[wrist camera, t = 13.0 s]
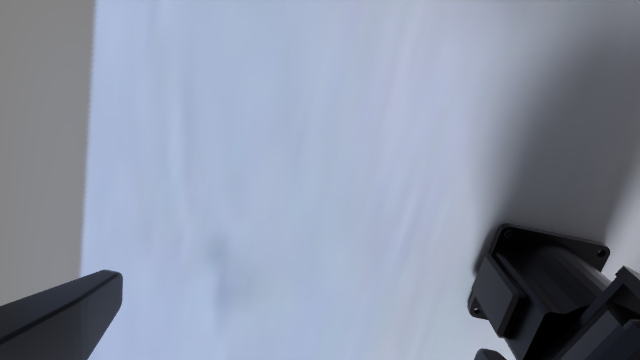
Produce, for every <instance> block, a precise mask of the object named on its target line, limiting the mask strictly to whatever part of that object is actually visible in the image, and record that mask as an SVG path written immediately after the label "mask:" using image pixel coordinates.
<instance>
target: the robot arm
mask: <svg viewBox="0 0 640 360" xmlns="http://www.w3.org/2000/svg"><path fill="white" fill-rule="evenodd" d="M508 230H510V233H509V234H508V235H504V233H505V232H506V231H508ZM599 250H601V252H600V253H598V254H597V252H598V251H599ZM609 255H610V249H609V248H608V247H607V246H605V245H604V244H602V243H599V242H594V241H589V240H584V239H580V238H575V237H570V236H565V235H560V234H556V233H551V232H546V231H541V230H536V229H531V228H527V227H522V226H517V225H512V224H503V225H501V226H500V227H499V228H498V230H497V232H496V235H495V237H494V240H493V242H492V245H491V248H490V250H489V253H488V254H487V255H486V256H484V259H483V261H482V264H481V266H480V269H479V271H478V274H477V277H476V279H475V282H474V284H473V287H472V291H473V293H472V296H471V298H470V301H469V303H468V307H467V308H468V311H469V313H470V314H471V315H472V316H473V317H476V318H481V319H486V320H489V322H490V323H491V325H492V327H493V329H494V331H495V332H496V334H497V336H498V337H499V338H504V339H505V341H506V342H507V344H508V346H509V348H510V349H511V351H512V353H513V355H514V356H515V358H516V360H640V274H639V273H637V272H635V271H633V270H631V269H630V268H628V267H626V266H623V267H622V268H621V269H620V270H619V271H618V272H617V273H616V274H615V275H616V276H617V277H616V278H615V280H614V281H613V282H611V281H610V280H609V279H608V278H606V277H605V276H604V275H603V274H602V273H601V271H602V269H603V267H604V265H605V263H606V261H607V259H608V257H609ZM122 290H123V277H122V274H121V273H119V272H115V271H110V270H101V271H99V272H96V273H93V274H90V275H87V276H84V277H82V278H79V279H76V280H73V281H70V282H68V283H65V284H62V285H59V286H56V287H53V288H51V289H48V290H45V291H42V292H39V293H36V294H34V295H31V296H28V297H25V298H23V299H20V300H16V301H14V302H11V303H8V304H5V305H3V306H0V360H87V359H88V358H89V356H90V355H91V353H92V352H93V350H94V348H95V347H96V345H97V344H98V342H99V341H100V339H101V337H102V336H103V334H104V333H105V331H106V330H107V328H108V327H109V325H110V323H111V322H112V320H113V319H114V317H115V316H116V314H117V312H118V311H119V309H120V307H121V304H122ZM475 308H479V309H477V310H474V309H475ZM474 360H506V359H505V358H504V357H503V356H502V355H501V354H500V353H498V352H497V351H493V350H488V349H479V350H478V352H477V354H476V356H475V358H474Z"/></svg>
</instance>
